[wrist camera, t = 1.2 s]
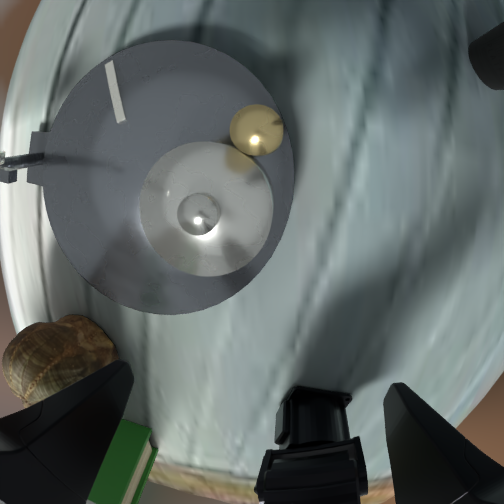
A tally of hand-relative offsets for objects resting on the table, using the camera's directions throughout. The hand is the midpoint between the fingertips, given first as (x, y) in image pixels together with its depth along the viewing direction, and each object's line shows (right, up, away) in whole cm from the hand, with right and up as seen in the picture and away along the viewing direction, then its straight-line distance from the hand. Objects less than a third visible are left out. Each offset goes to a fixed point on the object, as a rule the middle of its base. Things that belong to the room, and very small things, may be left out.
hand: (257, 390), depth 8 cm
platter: (-8, +9, +10) cm, 16 cm away
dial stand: (-18, +13, +12) cm, 25 cm away
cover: (-2, +8, +9) cm, 12 cm away
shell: (-19, -5, +18) cm, 27 cm away
